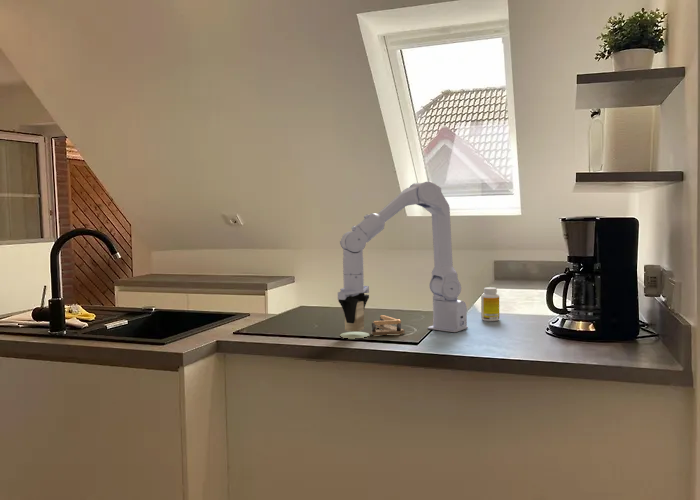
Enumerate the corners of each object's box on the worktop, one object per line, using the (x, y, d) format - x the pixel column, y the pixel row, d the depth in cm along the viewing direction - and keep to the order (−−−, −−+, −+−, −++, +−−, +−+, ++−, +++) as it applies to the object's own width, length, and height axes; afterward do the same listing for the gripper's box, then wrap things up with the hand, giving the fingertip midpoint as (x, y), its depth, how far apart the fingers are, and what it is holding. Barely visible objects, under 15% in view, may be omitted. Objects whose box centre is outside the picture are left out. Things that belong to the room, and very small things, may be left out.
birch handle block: (364, 328, 167) (363, 301, 166) (357, 331, 164) (356, 303, 163) (352, 327, 169) (351, 300, 168) (344, 330, 166) (344, 302, 165)
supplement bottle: (502, 321, 183) (502, 288, 182) (486, 322, 182) (486, 289, 181) (494, 317, 188) (494, 286, 187) (478, 319, 187) (478, 287, 186)
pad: (375, 335, 167) (375, 334, 167) (356, 340, 161) (356, 339, 160) (352, 331, 172) (352, 330, 172) (333, 336, 166) (333, 335, 166)
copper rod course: (413, 331, 171) (413, 317, 170) (389, 339, 162) (389, 324, 161) (382, 326, 178) (381, 313, 178) (357, 333, 169) (356, 319, 169)
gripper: (353, 270, 173) (354, 315, 174) (327, 276, 161) (328, 324, 162) (374, 271, 170) (375, 317, 171) (349, 277, 157) (350, 326, 158)
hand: (354, 321), depth 166 cm, fingers closed on birch handle block, 4 cm apart
